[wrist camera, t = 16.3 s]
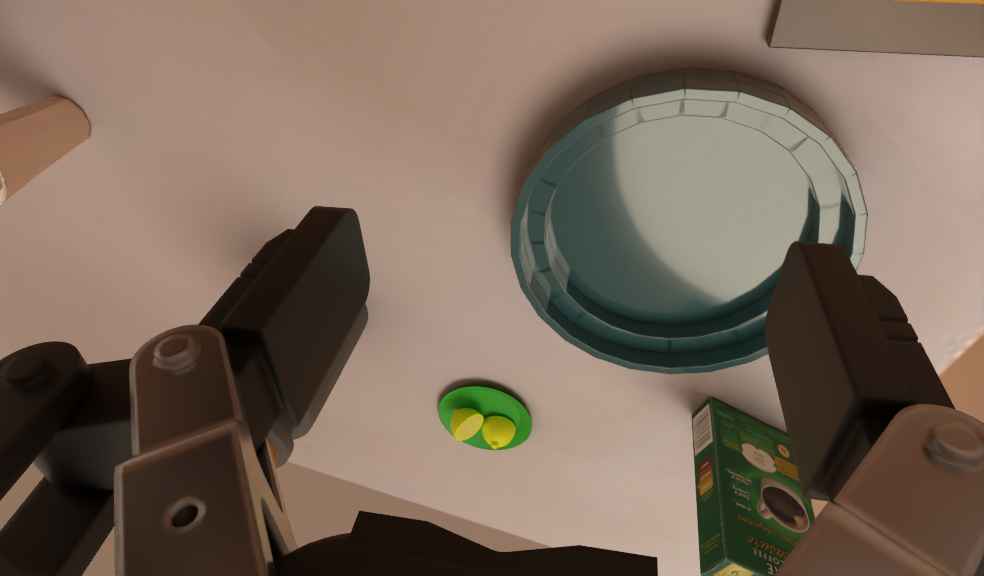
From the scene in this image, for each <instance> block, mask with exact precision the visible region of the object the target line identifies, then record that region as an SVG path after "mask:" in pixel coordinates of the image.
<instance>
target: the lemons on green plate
mask: <svg viewBox="0 0 984 576" xmlns="http://www.w3.org/2000/svg"><path fill="white" fill-rule="evenodd" d="M439 417H440V420H441V422H442V424H443V425H444V427H445V428H446V429H447V430H448V431H449V432H450V433H451V434H452V435H453V436H454V437H455V438H456V440H458V441H462V442H464V443H466V444H469V445H471V446H474V447H478V448H482V449H488V450H503V449H509V448H512V447H515V446H517V445H519V444H521V443H522V442H524V441H525V440H526V439H527V438H528V436H529V435H530V432H531V429H532V422H531V418H530V416H529V414H528V412H527V410H526V409H525V408H524V407H523V406H522V404H520V403H519V402H518V401H517V400H516V399H514V398H512V397H511V396H509V395H507V394H505V393H503V392H501V391H498V390H495V389H491V388H486V387H479V386H474V387H463V388H459V389H456V390H453V391H452V392H450V393H448V394H447V395H446V396H445V397H444V398H443V399H442V401H441V403H440V405H439Z"/></svg>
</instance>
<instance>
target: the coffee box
mask: <svg viewBox="0 0 984 576" xmlns="http://www.w3.org/2000/svg"><path fill="white" fill-rule="evenodd" d="M692 430H693V448H694V465H695V483H696V501H697V519H698V536H699V553H700V571H701V576H774V575H775V573H776V572H777V570H778V569H779V568H780V566H781V565H782V564H783V562H784V561H785V560H786V558H787V557H788V555H789V554H790V553H791V551H792V550H793V549H794V547H795V546H796V545H797V543H798V542H799V540H800V539H801V538H802V536H803V535H804V534H805V532H806V531H807V530H808V528H809V527H810V525H811V524H812V523H813V521H814V520H815V516H814V512H813V508H812V504H811V499H809V498H803V494H802V490H801V486H800V482H799V478H798V474H797V469H796V465H795V461H794V457H793V453H792V449H791V444H790V440H789V436H788V435H786V434H784V433H783V432H781V431H779V430H778V429H775V428H772V427H769V426H767V425H765V424H763V423H761V422H759V421H757V420H755V419H753V418H751V417H749V416H747V415H745V414H743V413H741V412H739V411H737V410H736V409H734V408H732V407H730V406H727V405H724V404H723V403H721V402H719V401H717V400H714V399H713V398H710V399H708V400H707V402H706V403H705V404H703V405H702V406H701V407H700V408H699V409H698V410H697V411H696V412H695V413H694V414H693V415H692Z"/></svg>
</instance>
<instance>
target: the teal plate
mask: <svg viewBox="0 0 984 576" xmlns="http://www.w3.org/2000/svg"><path fill="white" fill-rule="evenodd" d="M867 217H868V213H867V208H866V204H865V200H864V197H863V193H862V189H861V185H860V182H859V178H858V174H857V172H856V170H855V168H854V167H853V165H852V163H851V162H850V160H849V158H848V157H847V155H846V153H845V152H844V150H843V149H842V147H841V146H840V144H839V143H838V141H837V140H836V139H835V137H834V136H833V135H832V133H831V132H830V130H829V129H828V128H827V126H826V125H825V123H824V122H823V121H822V119H821V118H820V116H819V115H818V114H817V113H815V112H814V111H813V110H811V109H810V108H808V107H807V106H806V105H804V104H803V103H801V102H800V101H799V100H797V99H796V98H794V97H793V96H792V95H790V94H789V93H787V92H786V91H784V90H783V89H782V88H780V87H778V86H775V85H772V84H769V83H766V82H763V81H760V80H757V79H754V78H751V77H748V76H745V75H742V74H739V73H736V72H724V71H706V70H687V69H683V70H682V69H680V70H675V71H670V72H665V73H660V74H655V75H650V76H645V77H640V78H635V79H632V80H629V81H627V82H625V83H623V84H621V85H619V86H617V87H614V88H612V89H610V90H608V91H606V92H604V93H602V94H600V95H598V96H595V97H593V98H591V99H589V100H587V101H586V102H585V103H584V104H582V105H581V106H580V107H579V108H578V109H576V110H575V111H574V112H573V113H572V114H570V115H569V116H568V117H567V118H566V119H564V120H563V121H562V122H561V123H560V124H559V125H557V126H556V127H555V128H554V129H553V130H552V132H551V133H550V134H549V136H548V137H547V139H546V140H545V142H544V143H543V145H542V146H541V147H540V149H539V150H538V152H537V153H536V155H535V156H534V157H533V159H532V160H531V162H530V164H529V167H528V170H527V173H526V176H525V179H524V182H523V185H522V188H521V191H520V194H519V198H518V201H517V204H516V207H515V210H514V213H513V217H512V221H511V257H512V260H513V264H514V267H515V270H516V274H517V277H518V280H519V284H520V287H521V289H522V291H523V292H524V294H525V295H526V297H527V298H528V300H529V302H530V303H531V305H532V306H533V308H534V309H535V311H536V312H537V314H538V316H540V318H541V319H542V320H544V321H545V322H546V323H547V324H548V325H549V326H550V327H551V328H552V329H553V330H554V331H556V332H557V333H558V334H559V335H560V336H561V337H562V338H563V339H565V340H566V341H567V342H569V343H571V344H573V345H574V346H576V347H578V348H580V349H581V350H583V351H585V352H587V353H588V354H590V355H592V356H594V357H596V358H598V359H601V360H605V361H608V362H611V363H614V364H617V365H620V366H623V367H626V368H629V369H635V370H642V371H650V372H658V373H666V374H681V373H701V372H711V371H715V370H720V369H724V368H728V367H733V366H737V365H741V364H745V363H748V362H752V361H754V360H756V359H758V358H761V357H763V356H765V355H767V354H769V353H768V349H767V345H766V339H765V323H766V316H767V311H768V307H769V304H770V301H771V298H772V295H773V292H774V289H775V286H776V283H777V280H778V277H779V274H780V271H781V268H782V265H783V262H784V259H785V256H786V253H787V251H788V249H789V247H790V245H791V244H792V243H793V242H794V241H799V242H813V243H827V244H841V245H843V246H844V247H845V249H846V251H847V253H848V255H849V258H850V260H851V262H852V264H853V266H854V268H855V270H857V267H858V265H859V263H860V261H861V259H862V256H863V253H864V247H865V237H866V227H867Z"/></svg>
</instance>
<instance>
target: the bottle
mask: <svg viewBox="0 0 984 576" xmlns="http://www.w3.org/2000/svg"><path fill="white" fill-rule="evenodd" d="M367 320H368V312H367V308H366V306H365V304H364V306H363V308H362V310H361V311H360V313H359V315H358V317H357V319H356V321H355V323H354V324H353V326H352V328H351V330H350V332H349V334H348V336H347V337H346V339H345V341H344V343H343V345H342V347H341V349H340V350H339V352H338V354H337V356H336V358H335V360H334V362H333V363H332V365H331V367H330V369H329V371H328V373H327V375H326V377H325V378H324V380H323V382H322V384H321V386H320V388H319V390H318V391H317V393H316V395H315V397H314V399H313V401H312V403H311V404H310V406H309V408H308V410H307V412H306V414H305V416H304V417H303V419H302V421H301V423H300V425H299V427H293V426H286V425H279V424H274V425H273V427H272V428H271V430H270V432H269V434H268V435H267V437H266V438H267V441H268V443H269V445H270V449H271V453H272V457H273V460H274V464H275V468H278V467H280V466H282V465H283V464H285V463H286V461H287V460H288V458H289V457H290V455H291V453H292V451H293V447H294V443H293V439H297V438H300V437H302V436H304V435H305V434H307V433H308V432H309V430H310V429H311V427H312V425H313V424H314V422H315V420H316V419H317V417H318V415H319V413H320V411H321V409H322V408H323V406H324V404H325V402H326V400H327V398H328V396H329V394H330V393H331V391H332V389H333V387H334V385H335V383H336V381H337V380H338V378H339V376H340V374H341V372H342V370H343V368H344V366H345V364H346V363H347V361H348V359H349V357H350V355H351V353H352V351H353V349H354V347H355V346H356V344H357V342H358V340H359V338H360V336H361V334H362V332H363V330H364V328H365V326H366V323H367Z"/></svg>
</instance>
